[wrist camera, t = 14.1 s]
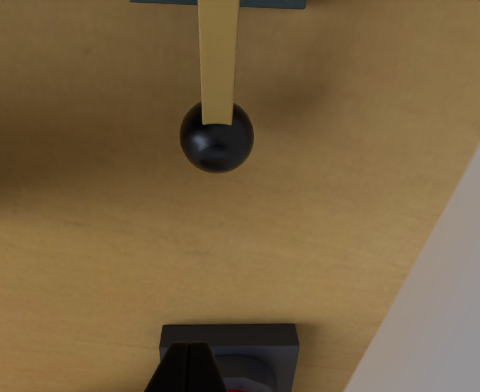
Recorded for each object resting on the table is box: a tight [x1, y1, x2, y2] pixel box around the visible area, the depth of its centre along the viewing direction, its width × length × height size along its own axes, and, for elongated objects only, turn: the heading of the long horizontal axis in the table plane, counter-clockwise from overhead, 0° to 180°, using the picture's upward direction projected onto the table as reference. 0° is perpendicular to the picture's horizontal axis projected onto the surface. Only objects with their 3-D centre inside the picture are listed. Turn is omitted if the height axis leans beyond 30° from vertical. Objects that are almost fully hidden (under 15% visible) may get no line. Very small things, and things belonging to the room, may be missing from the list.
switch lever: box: [180, 0, 254, 173], centre depth 11 cm, size 13×3×3 cm, turn 178°
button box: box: [159, 324, 299, 392], centre depth 27 cm, size 9×8×4 cm
